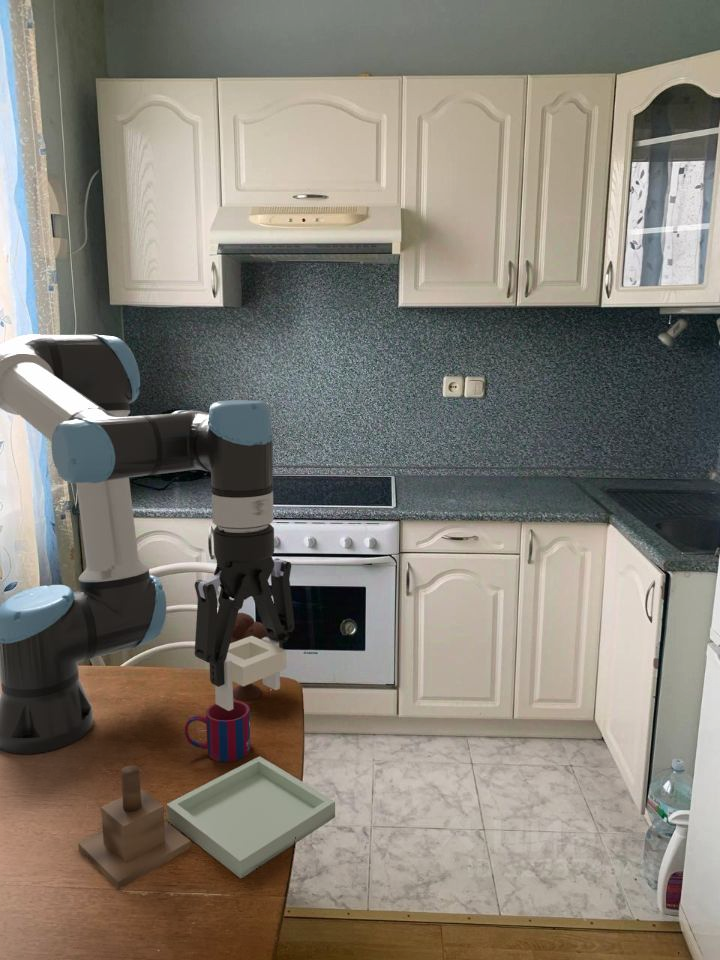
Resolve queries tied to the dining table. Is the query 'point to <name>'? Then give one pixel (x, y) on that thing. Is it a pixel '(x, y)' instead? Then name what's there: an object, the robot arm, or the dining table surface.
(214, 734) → the mug
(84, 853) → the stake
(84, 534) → the robot arm
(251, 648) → the ring
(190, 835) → the tray
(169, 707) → the dining table surface
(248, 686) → the ice cream bowl
